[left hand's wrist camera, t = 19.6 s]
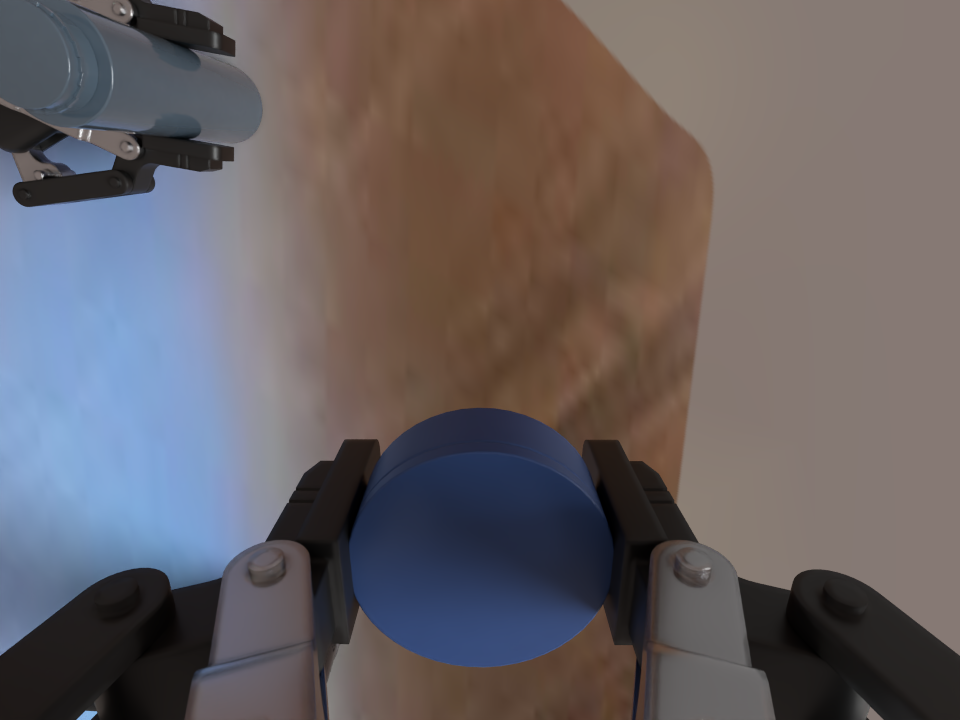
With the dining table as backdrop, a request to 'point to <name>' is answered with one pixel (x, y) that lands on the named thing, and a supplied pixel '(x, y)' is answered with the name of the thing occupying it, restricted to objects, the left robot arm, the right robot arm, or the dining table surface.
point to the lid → (481, 540)
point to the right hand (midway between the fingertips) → (226, 100)
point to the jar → (118, 76)
